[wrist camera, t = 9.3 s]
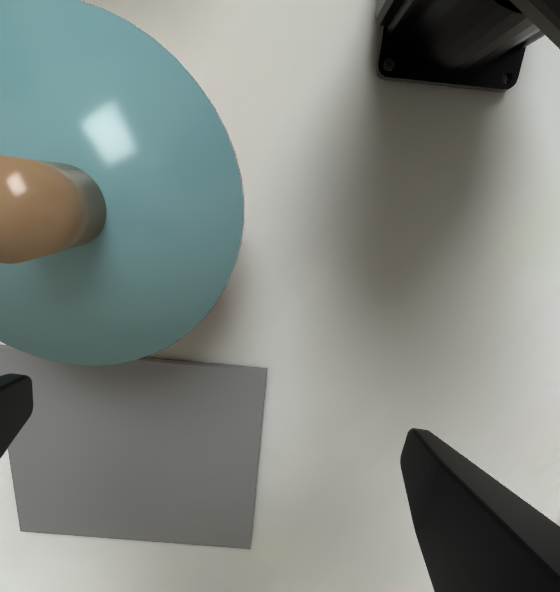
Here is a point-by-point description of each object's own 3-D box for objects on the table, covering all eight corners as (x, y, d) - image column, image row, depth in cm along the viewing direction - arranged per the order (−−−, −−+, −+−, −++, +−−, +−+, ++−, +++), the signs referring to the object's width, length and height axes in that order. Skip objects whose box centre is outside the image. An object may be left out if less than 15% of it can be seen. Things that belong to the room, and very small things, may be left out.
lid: (257, 28, 12) (245, -47, 8) (234, 369, 16) (218, 427, 12) (-133, -15, 12) (-334, -115, 8) (-63, 342, 15) (-177, 393, 12)
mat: (267, 368, 21) (266, 371, 21) (250, 543, 25) (250, 549, 25) (-2, 344, 21) (-8, 347, 21) (24, 526, 25) (20, 531, 25)
